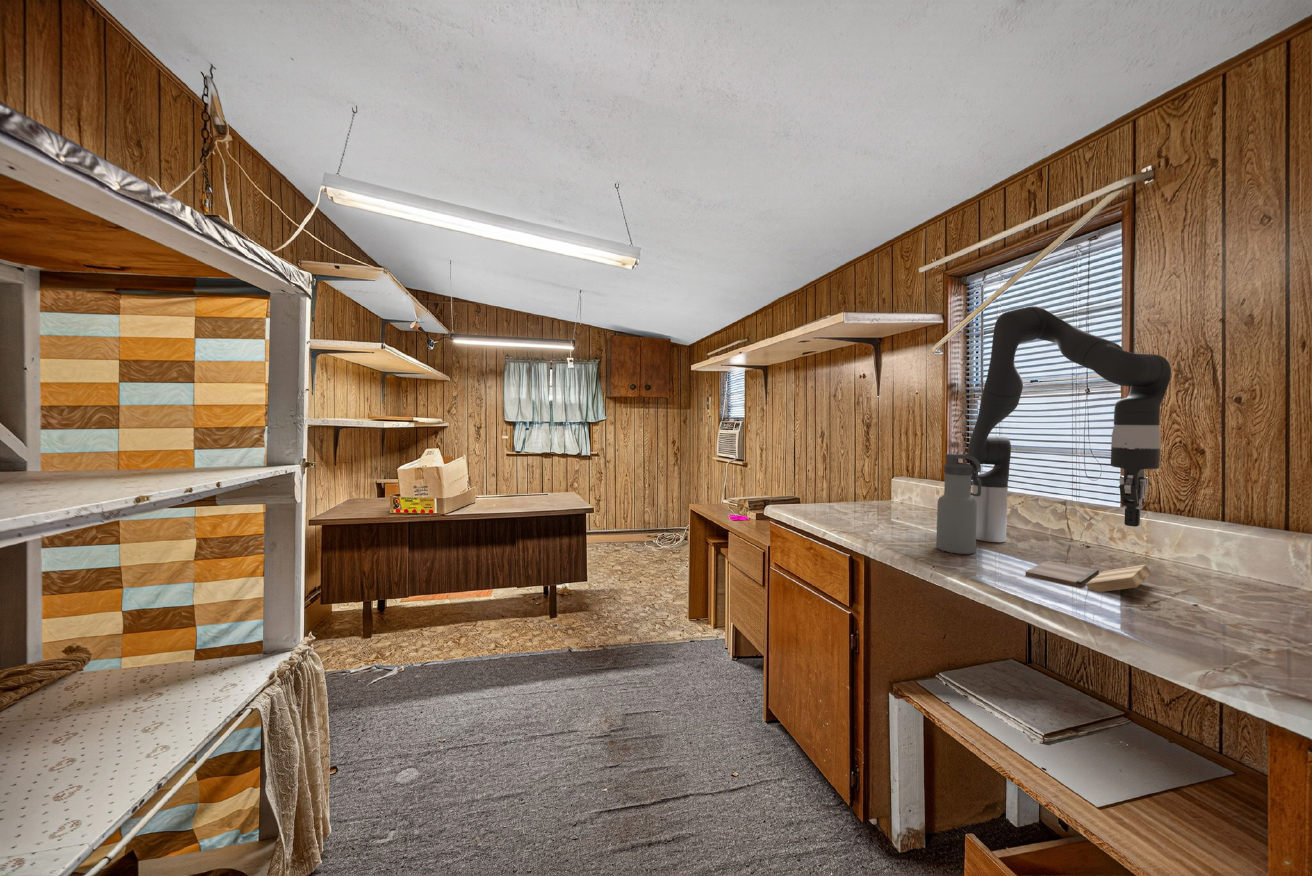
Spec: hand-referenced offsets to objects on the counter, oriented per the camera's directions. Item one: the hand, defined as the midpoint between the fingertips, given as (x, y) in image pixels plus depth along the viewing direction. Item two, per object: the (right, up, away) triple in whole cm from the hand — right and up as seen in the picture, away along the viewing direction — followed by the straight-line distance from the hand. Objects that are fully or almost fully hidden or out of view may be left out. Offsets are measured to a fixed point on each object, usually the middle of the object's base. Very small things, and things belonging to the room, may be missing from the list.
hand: (1131, 525), depth 104 cm
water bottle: (-16, -14, +35) cm, 41 cm away
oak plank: (-1, -13, +1) cm, 13 cm away
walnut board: (-7, -15, +10) cm, 19 cm away
